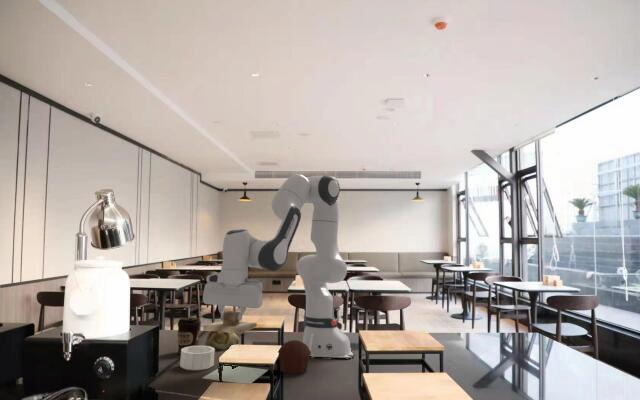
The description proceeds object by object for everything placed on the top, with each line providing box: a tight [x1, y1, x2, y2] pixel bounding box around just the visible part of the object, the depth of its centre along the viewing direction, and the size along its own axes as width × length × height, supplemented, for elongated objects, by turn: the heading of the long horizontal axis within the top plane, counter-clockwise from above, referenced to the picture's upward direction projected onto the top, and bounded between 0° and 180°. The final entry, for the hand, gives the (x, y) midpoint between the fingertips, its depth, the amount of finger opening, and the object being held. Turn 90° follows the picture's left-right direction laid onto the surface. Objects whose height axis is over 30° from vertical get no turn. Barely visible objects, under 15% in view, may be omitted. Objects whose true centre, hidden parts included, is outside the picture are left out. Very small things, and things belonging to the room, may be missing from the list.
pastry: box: [204, 331, 241, 351], centre depth 175 cm, size 14×12×8 cm
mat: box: [202, 365, 269, 384], centre depth 138 cm, size 16×16×1 cm
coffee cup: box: [177, 316, 201, 355], centre depth 164 cm, size 9×8×13 cm
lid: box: [202, 310, 258, 335], centre depth 141 cm, size 13×13×5 cm
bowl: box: [179, 345, 216, 371], centre depth 146 cm, size 11×11×6 cm
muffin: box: [277, 339, 311, 375], centre depth 146 cm, size 12×11×10 cm
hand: (231, 319), depth 141 cm, fingers closed on lid, 4 cm apart
